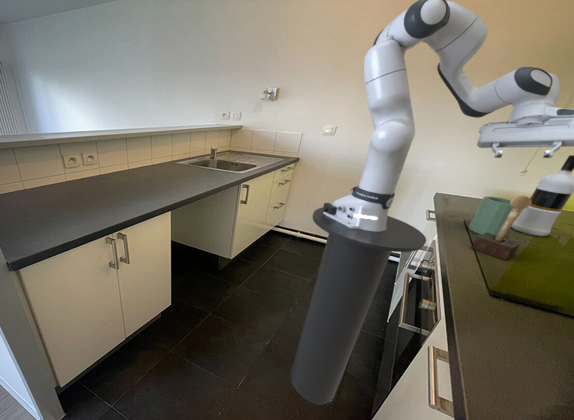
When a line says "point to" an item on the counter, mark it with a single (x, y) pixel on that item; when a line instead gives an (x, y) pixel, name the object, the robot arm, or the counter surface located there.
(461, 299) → the counter surface
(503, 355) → the counter surface
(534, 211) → the vodka
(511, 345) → the counter surface
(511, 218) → the spoon
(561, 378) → the counter surface
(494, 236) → the spoon stand
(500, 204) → the cup
